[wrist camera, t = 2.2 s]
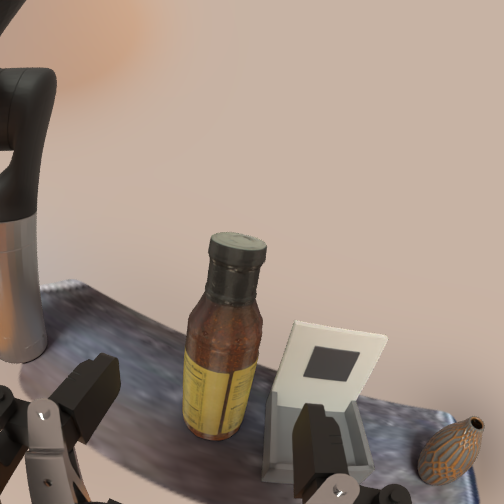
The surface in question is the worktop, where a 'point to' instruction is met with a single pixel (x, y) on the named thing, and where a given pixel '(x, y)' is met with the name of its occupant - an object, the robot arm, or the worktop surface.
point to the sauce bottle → (223, 338)
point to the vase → (451, 452)
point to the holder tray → (320, 394)
